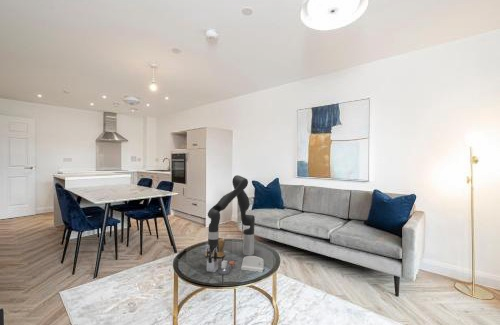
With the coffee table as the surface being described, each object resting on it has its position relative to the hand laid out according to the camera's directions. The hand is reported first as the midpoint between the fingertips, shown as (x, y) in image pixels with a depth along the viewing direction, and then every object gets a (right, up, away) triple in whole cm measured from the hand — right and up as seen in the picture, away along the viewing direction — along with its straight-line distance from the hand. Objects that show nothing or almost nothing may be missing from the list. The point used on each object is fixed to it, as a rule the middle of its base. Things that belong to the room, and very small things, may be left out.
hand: (212, 260), depth 170 cm
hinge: (+29, -8, +4) cm, 30 cm away
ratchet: (+10, -7, +2) cm, 13 cm away
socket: (0, -7, 0) cm, 7 cm away
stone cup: (-2, -8, +30) cm, 31 cm away
